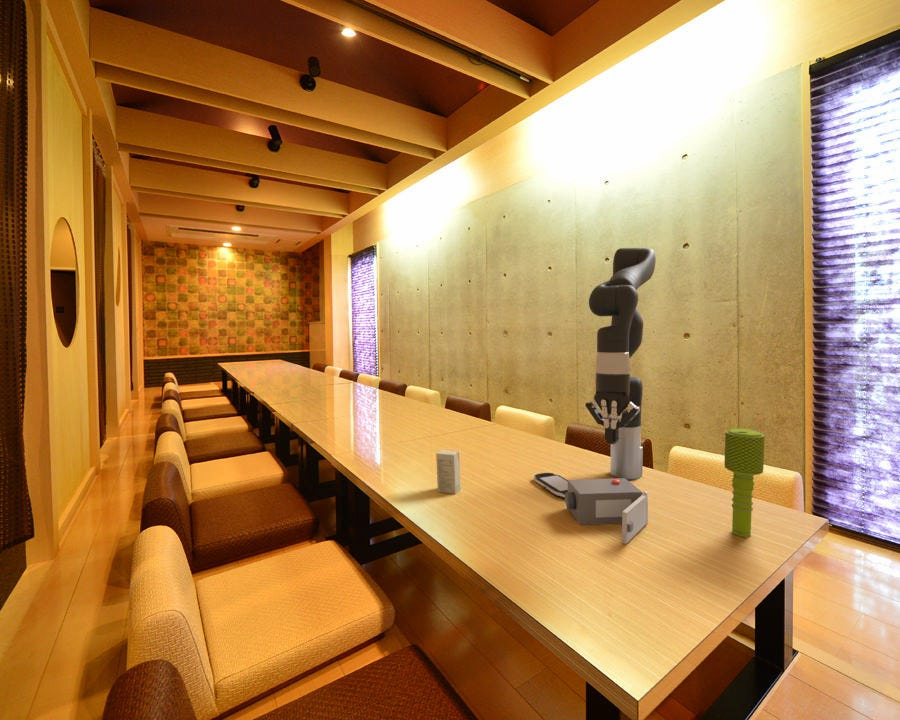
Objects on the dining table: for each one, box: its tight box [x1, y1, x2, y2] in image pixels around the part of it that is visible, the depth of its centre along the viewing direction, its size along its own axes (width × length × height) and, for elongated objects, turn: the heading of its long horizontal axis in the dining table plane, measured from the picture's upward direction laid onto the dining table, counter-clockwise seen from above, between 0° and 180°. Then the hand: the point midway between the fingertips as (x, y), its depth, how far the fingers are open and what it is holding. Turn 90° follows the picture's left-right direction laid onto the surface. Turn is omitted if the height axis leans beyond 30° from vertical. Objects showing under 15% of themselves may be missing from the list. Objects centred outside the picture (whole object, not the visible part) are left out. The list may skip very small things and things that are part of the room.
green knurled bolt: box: [723, 428, 766, 538], centre depth 101 cm, size 8×8×25 cm
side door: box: [621, 490, 649, 544], centre depth 102 cm, size 2×14×8 cm, turn 137°
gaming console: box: [533, 472, 569, 500], centre depth 132 cm, size 19×9×2 cm, turn 19°
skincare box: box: [435, 449, 462, 495], centre depth 131 cm, size 6×4×12 cm
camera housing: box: [564, 477, 643, 526], centre depth 112 cm, size 10×18×9 cm, turn 92°
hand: (611, 443), depth 101 cm, fingers closed
